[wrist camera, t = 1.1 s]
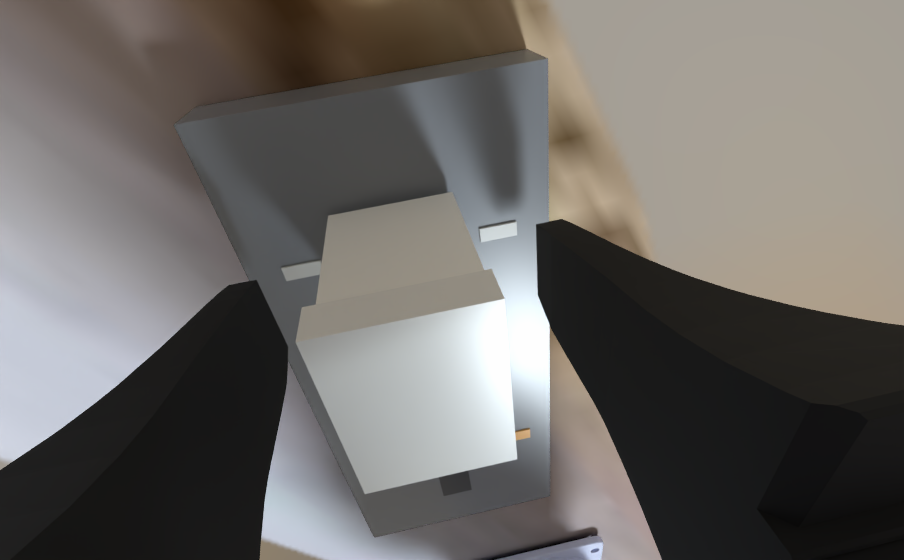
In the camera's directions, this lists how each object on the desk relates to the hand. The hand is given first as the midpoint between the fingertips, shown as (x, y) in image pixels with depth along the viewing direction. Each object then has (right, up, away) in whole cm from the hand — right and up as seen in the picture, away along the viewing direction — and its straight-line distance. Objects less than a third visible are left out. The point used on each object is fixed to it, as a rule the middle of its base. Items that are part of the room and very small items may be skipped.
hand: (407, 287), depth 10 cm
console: (0, -2, +5) cm, 6 cm away
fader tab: (0, +1, +1) cm, 1 cm away
